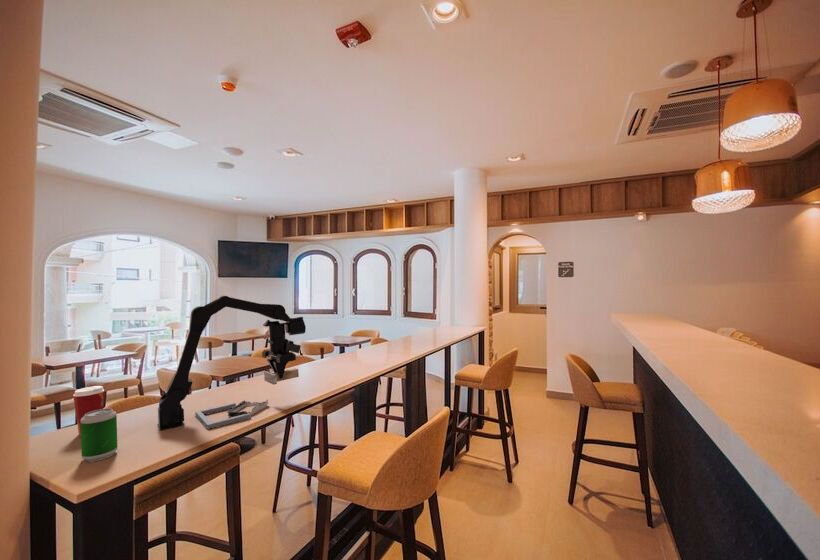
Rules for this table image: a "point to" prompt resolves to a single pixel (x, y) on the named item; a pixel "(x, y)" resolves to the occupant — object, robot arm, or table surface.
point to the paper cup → (87, 402)
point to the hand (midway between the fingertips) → (279, 377)
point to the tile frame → (210, 424)
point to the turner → (274, 377)
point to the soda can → (98, 434)
